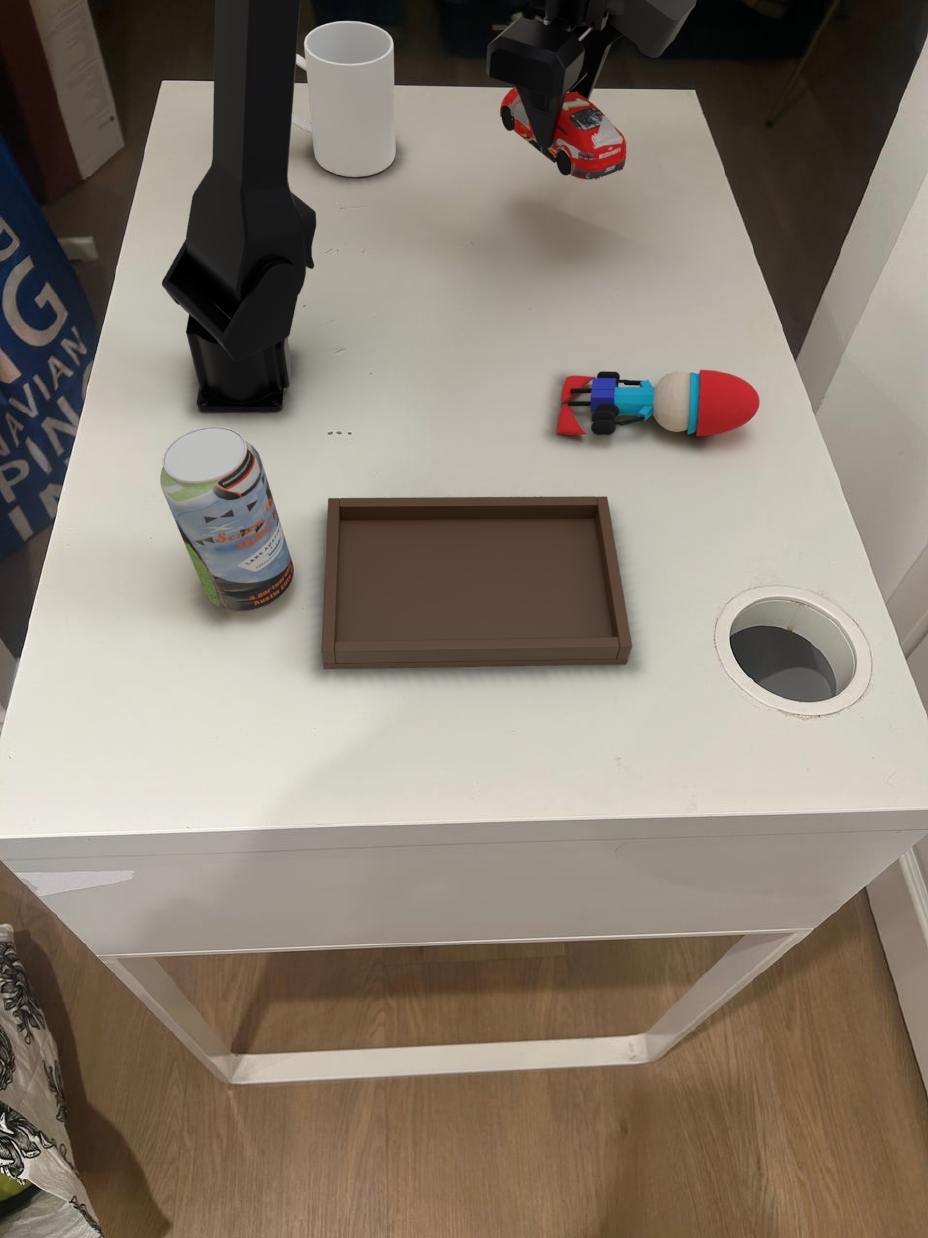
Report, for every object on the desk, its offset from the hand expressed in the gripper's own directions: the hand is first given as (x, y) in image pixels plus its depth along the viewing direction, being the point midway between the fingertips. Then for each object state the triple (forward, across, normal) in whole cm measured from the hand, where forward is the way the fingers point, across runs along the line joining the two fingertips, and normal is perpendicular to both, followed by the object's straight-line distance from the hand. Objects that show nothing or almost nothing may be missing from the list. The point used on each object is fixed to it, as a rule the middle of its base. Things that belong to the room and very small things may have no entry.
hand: (561, 127), depth 81 cm
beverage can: (+10, -46, +1) cm, 47 cm away
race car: (+2, 0, 0) cm, 2 cm away
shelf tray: (+10, -39, -13) cm, 42 cm away
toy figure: (+10, -18, -18) cm, 27 cm away
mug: (+10, 0, +23) cm, 25 cm away
